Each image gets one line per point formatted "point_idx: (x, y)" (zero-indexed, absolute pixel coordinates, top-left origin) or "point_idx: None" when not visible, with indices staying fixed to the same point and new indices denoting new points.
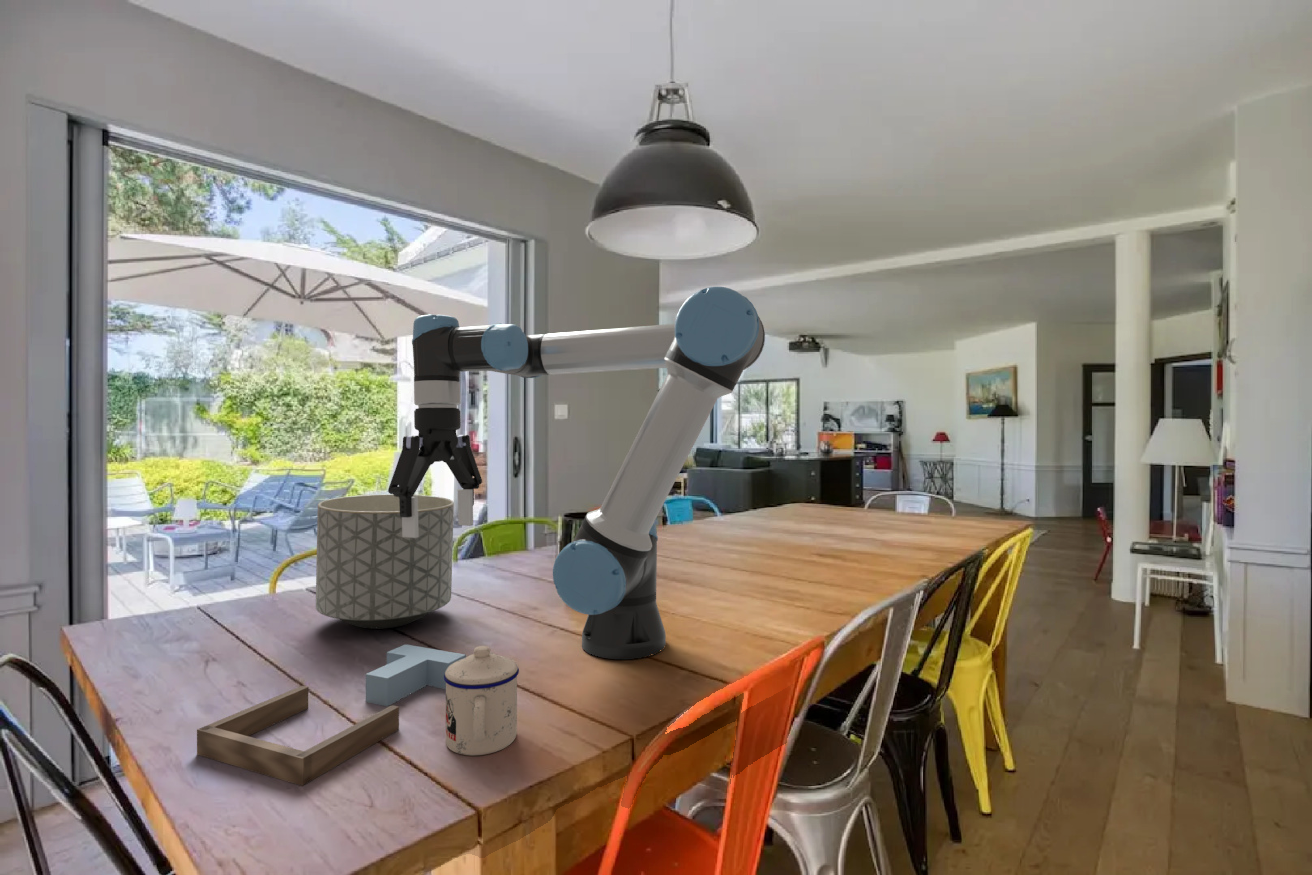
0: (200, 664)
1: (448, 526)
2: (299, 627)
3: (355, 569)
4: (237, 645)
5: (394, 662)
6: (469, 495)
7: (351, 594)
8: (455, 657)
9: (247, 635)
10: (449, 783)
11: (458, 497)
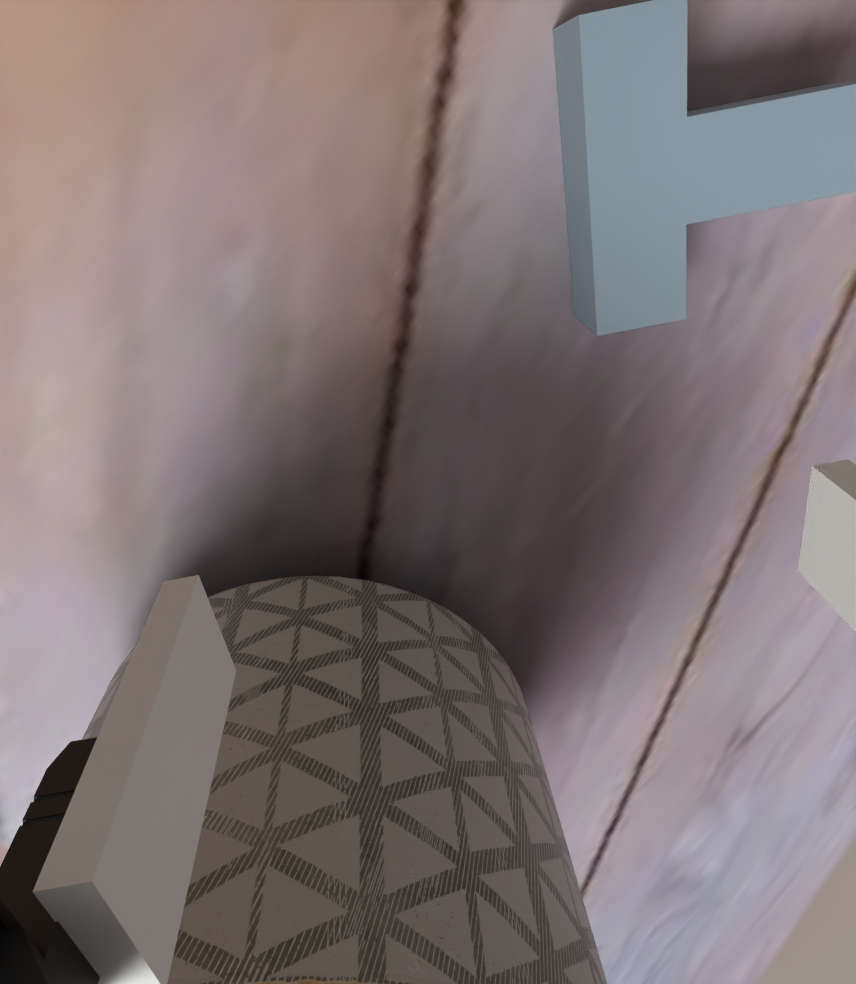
0: (767, 729)
1: None
2: None
3: (544, 799)
4: (649, 783)
5: (755, 201)
6: (121, 812)
7: (528, 731)
8: (623, 27)
9: (592, 826)
10: None
11: (184, 887)
